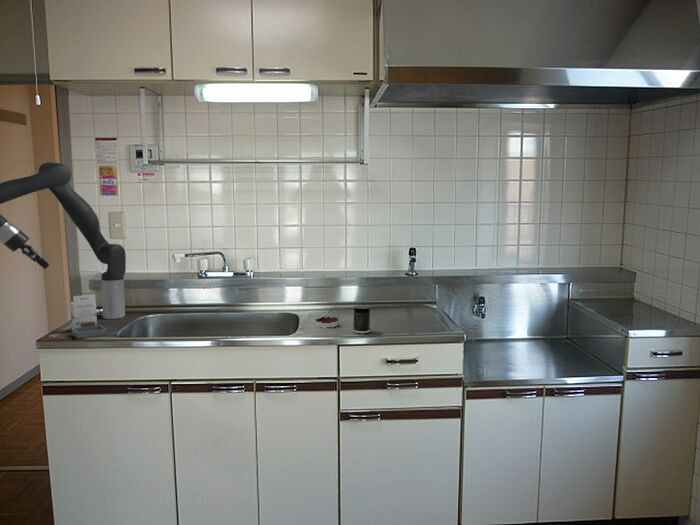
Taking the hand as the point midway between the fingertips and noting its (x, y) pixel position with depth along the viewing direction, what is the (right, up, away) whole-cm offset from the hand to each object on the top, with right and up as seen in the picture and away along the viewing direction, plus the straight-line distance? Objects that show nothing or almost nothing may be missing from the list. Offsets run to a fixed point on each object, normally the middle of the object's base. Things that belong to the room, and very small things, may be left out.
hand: (46, 266), depth 205 cm
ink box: (+10, -26, +10) cm, 30 cm away
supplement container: (+122, -27, +11) cm, 125 cm away
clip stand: (+10, -26, +9) cm, 29 cm away
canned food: (+107, -26, +23) cm, 112 cm away
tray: (+16, -27, +2) cm, 31 cm away
